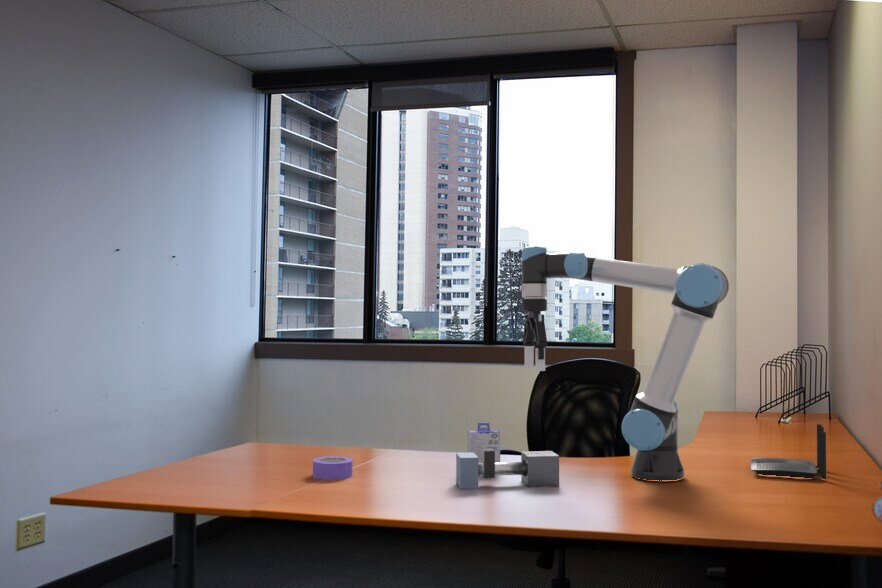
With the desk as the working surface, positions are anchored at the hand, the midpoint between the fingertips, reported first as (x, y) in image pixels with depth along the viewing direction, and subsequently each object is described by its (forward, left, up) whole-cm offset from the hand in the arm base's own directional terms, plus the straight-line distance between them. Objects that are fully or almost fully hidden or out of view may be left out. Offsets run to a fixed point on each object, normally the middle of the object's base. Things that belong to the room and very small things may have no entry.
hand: (534, 369), depth 246 cm
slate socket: (+22, +12, -32) cm, 41 cm away
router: (-76, +7, -32) cm, 83 cm away
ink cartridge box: (+14, -8, -32) cm, 36 cm away
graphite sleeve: (+1, +12, -32) cm, 34 cm away
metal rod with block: (+14, +12, -29) cm, 35 cm away
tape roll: (+60, -7, -32) cm, 68 cm away
